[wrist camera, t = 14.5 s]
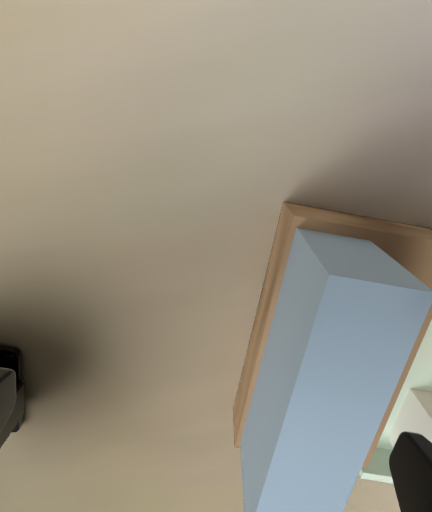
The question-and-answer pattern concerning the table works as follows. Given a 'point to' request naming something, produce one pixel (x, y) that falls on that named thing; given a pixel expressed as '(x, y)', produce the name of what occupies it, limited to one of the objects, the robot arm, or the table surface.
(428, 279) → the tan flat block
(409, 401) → the tile
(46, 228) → the table surface
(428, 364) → the tray
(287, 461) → the long blue block
